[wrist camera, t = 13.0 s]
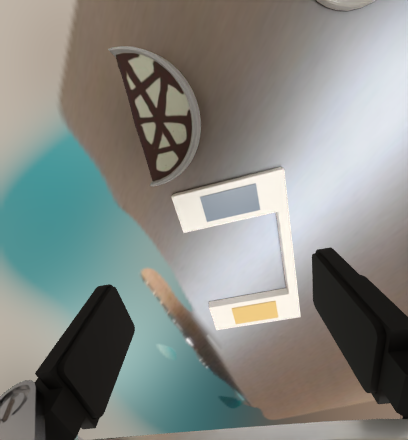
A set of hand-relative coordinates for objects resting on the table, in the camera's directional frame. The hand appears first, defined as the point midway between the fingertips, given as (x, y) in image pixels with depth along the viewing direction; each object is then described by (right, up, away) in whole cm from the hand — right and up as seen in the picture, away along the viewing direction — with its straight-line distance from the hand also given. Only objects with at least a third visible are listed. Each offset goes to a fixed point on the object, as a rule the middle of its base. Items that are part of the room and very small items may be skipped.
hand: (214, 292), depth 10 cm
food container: (-4, +17, +18) cm, 25 cm away
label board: (+6, -3, +26) cm, 27 cm away
